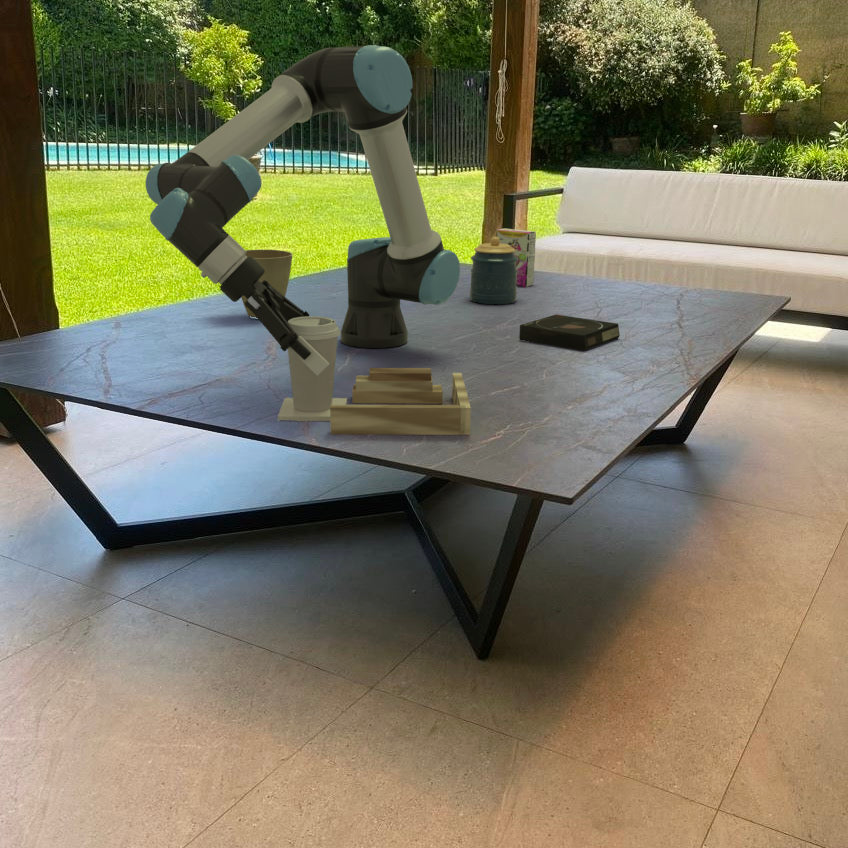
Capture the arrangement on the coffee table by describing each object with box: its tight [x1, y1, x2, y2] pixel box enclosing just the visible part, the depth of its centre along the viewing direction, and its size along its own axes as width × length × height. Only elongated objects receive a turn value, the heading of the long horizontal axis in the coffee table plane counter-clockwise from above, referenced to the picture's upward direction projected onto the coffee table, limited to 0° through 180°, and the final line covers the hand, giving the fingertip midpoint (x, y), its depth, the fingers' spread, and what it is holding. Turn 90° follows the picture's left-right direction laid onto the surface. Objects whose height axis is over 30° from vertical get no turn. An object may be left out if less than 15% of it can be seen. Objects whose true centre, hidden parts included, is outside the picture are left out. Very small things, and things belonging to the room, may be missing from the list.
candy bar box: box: [495, 228, 537, 288], centre depth 293 cm, size 11×5×16 cm, turn 58°
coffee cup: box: [287, 315, 341, 412], centre depth 165 cm, size 10×10×15 cm
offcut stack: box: [351, 367, 444, 405], centre depth 175 cm, size 4×16×5 cm, turn 92°
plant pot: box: [240, 249, 294, 318], centre depth 242 cm, size 15×15×16 cm
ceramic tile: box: [277, 397, 348, 422], centre depth 168 cm, size 11×11×1 cm
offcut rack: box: [329, 372, 472, 436], centre depth 166 cm, size 22×22×4 cm
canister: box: [469, 236, 518, 305], centre depth 267 cm, size 13×13×18 cm
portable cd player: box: [518, 313, 621, 352], centre depth 224 cm, size 16×17×4 cm
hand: (326, 359), depth 165 cm, fingers open, 13 cm apart
